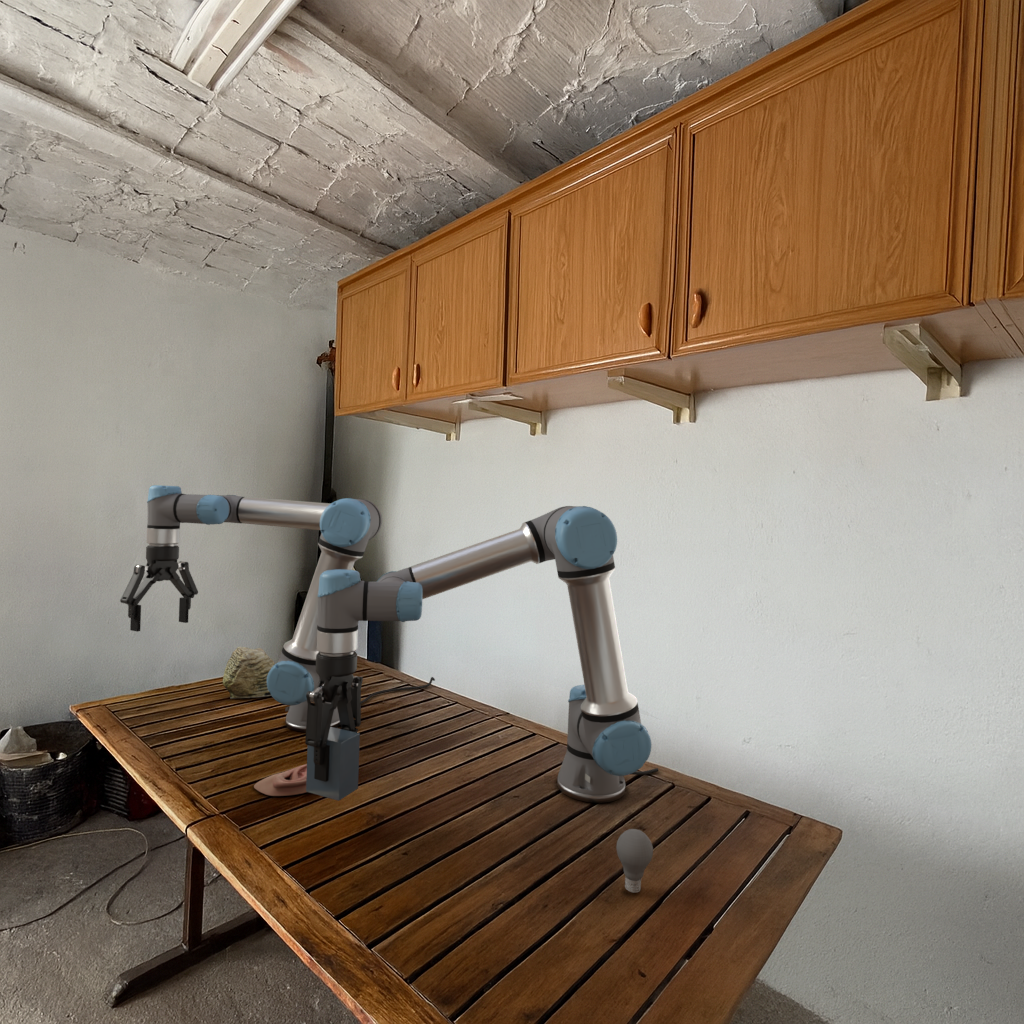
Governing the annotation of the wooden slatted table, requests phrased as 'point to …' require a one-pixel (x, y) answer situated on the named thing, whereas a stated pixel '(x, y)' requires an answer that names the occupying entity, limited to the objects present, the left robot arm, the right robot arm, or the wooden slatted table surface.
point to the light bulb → (634, 857)
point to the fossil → (247, 673)
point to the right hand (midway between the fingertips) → (332, 772)
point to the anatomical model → (284, 782)
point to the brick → (336, 765)
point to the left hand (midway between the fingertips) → (160, 626)
